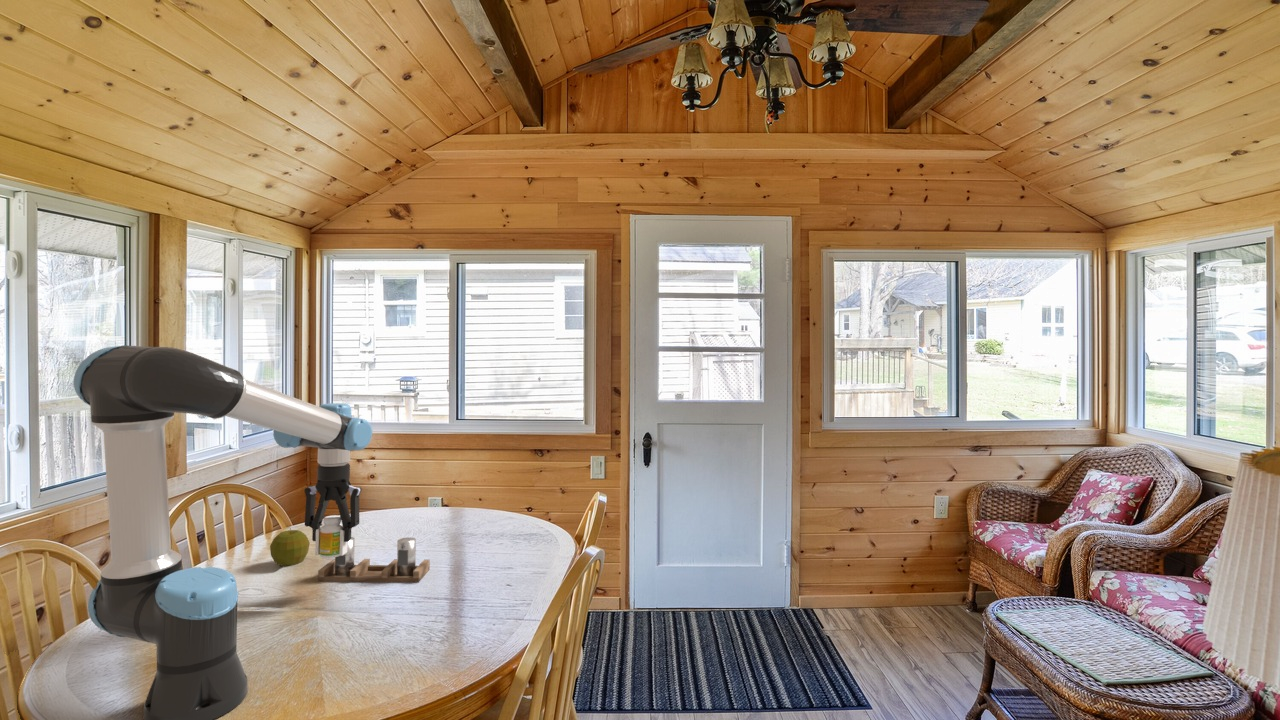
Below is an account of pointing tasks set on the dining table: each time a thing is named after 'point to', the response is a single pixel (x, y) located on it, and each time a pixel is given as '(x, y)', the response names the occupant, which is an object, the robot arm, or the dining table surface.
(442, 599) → the dining table surface
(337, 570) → the shiny gray cylinder
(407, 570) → the glass spice jar
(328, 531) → the supplement bottle
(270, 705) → the dining table surface
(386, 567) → the wooden spice rack
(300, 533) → the apple
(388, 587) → the dining table surface
